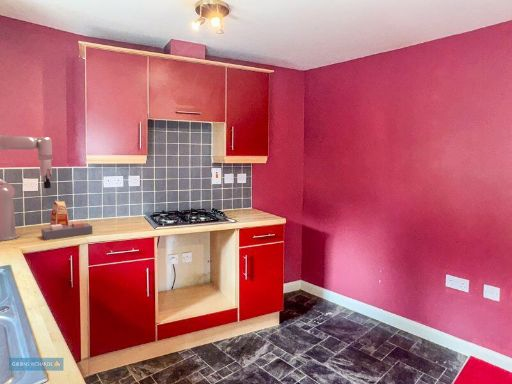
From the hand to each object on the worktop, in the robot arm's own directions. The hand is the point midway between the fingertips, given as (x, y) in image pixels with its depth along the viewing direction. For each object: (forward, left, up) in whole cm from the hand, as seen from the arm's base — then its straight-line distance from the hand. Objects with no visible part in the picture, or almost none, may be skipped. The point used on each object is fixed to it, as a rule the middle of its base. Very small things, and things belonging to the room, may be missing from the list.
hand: (47, 187), depth 226 cm
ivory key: (+8, +2, -27) cm, 28 cm away
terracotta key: (+8, +14, -27) cm, 32 cm away
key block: (+8, +8, -29) cm, 31 cm away
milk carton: (-10, +8, -29) cm, 32 cm away
